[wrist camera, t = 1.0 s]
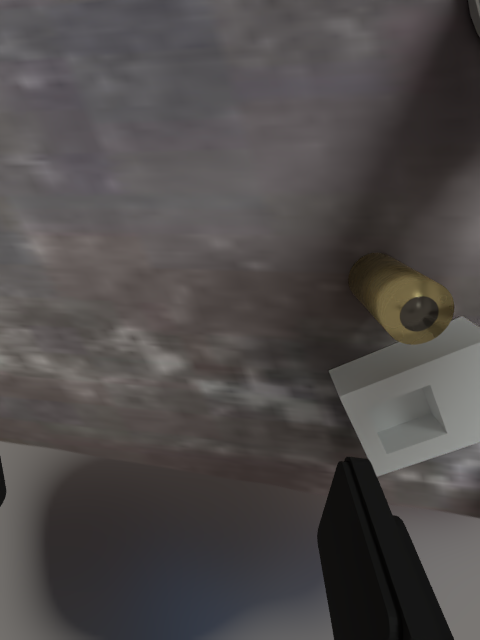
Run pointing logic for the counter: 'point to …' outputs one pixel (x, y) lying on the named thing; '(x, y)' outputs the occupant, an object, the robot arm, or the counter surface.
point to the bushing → (401, 298)
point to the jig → (415, 397)
